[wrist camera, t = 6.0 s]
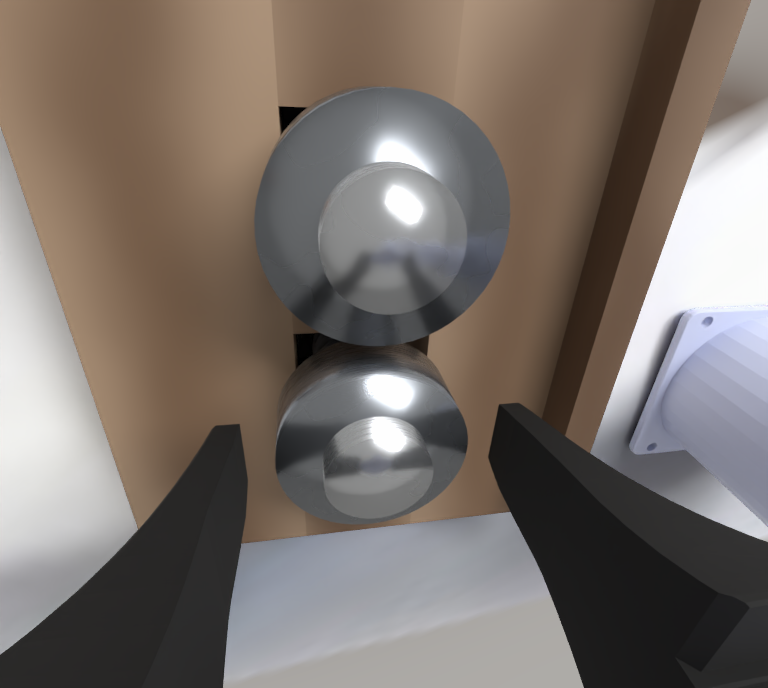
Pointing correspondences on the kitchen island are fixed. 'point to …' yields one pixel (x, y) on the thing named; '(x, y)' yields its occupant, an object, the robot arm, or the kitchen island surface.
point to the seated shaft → (381, 215)
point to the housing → (245, 170)
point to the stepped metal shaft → (366, 432)
